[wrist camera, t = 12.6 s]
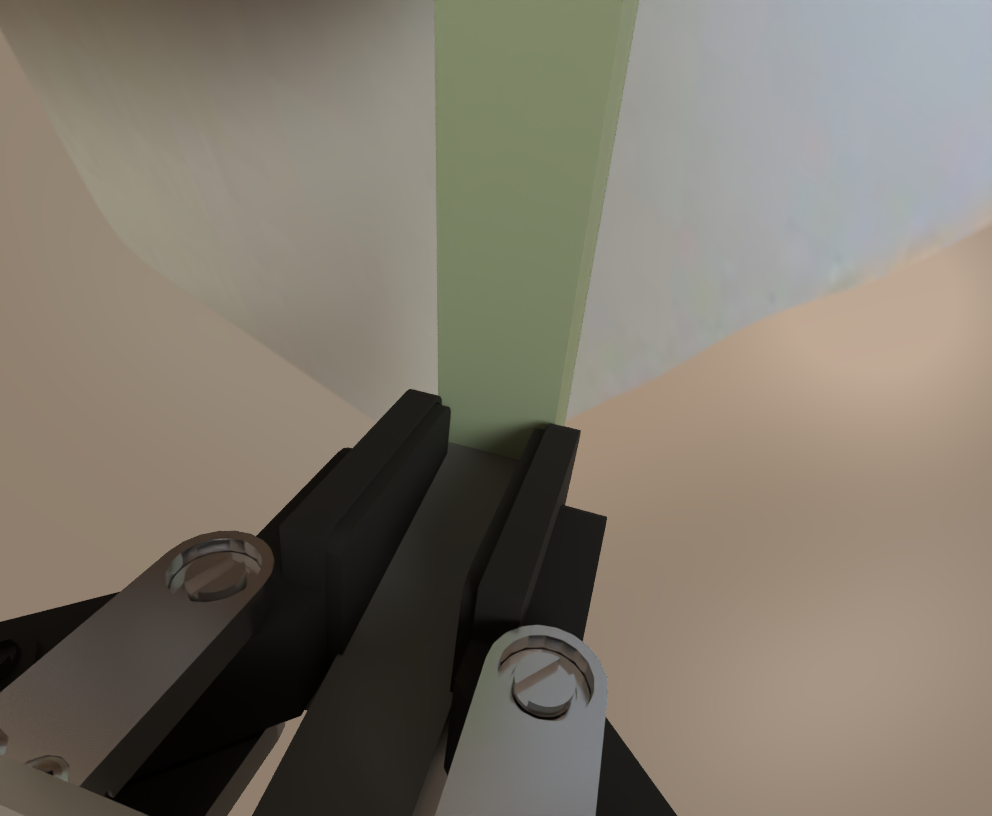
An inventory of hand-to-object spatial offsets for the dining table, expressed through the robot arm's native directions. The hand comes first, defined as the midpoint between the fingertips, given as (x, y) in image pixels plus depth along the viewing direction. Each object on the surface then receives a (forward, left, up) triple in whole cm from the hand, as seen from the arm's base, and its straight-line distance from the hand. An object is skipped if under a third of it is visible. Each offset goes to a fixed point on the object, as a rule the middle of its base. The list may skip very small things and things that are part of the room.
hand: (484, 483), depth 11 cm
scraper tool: (0, -3, -1) cm, 3 cm away
